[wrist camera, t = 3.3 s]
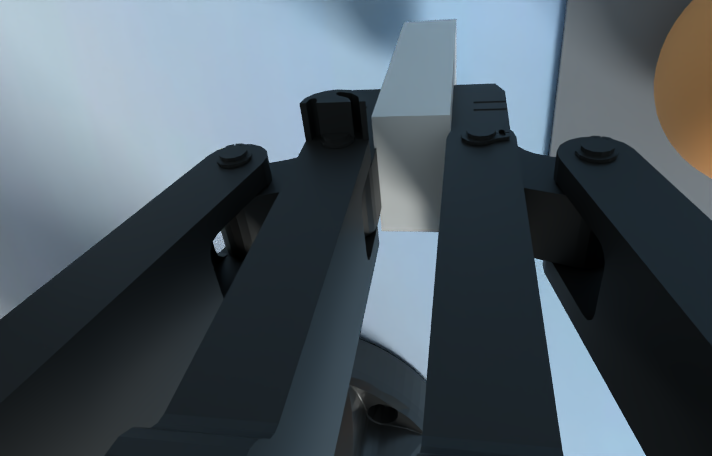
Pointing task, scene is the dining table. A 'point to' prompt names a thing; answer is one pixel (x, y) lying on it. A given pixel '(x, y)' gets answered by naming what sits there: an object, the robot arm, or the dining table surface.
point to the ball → (687, 85)
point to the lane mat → (620, 84)
